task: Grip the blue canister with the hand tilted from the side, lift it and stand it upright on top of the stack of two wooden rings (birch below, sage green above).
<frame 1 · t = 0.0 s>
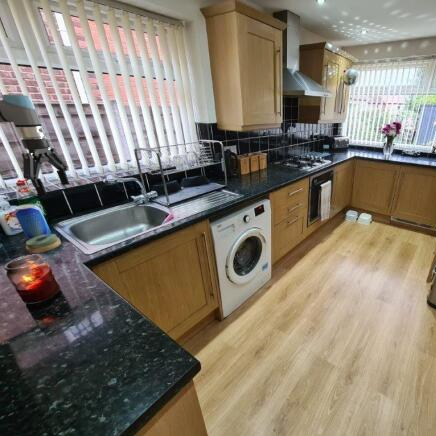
hand: (54, 189, 106), 25 cm above the countertop, tool pointing down, fingers open, 13 cm apart
blue canister: (40, 237, 117), on the countertop
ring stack: (45, 246, 109), on the countertop
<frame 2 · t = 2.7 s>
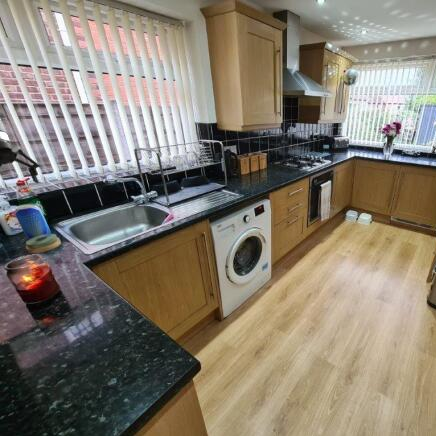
hand: (17, 186, 110), 24 cm above the countertop, tool tilted 35°, fingers open, 13 cm apart
nothing on the countertop moved.
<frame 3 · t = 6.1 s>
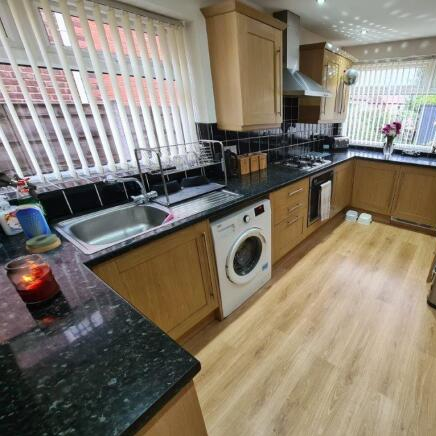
hand: (19, 206, 114), 15 cm above the countertop, tool tilted 45°, fingers open, 13 cm apart
nothing on the countertop moved.
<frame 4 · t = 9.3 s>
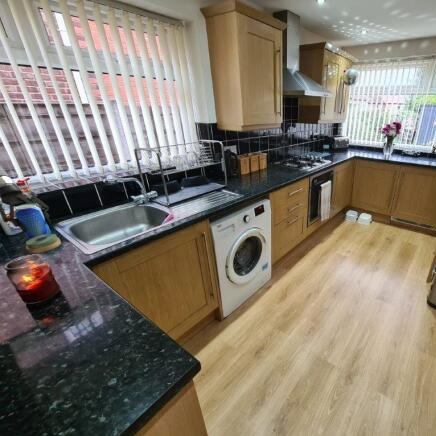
hand: (38, 226, 113), 6 cm above the countertop, tool tilted 45°, fingers closed on blue canister, 8 cm apart
blue canister: (40, 237, 117), on the countertop, touching gripper
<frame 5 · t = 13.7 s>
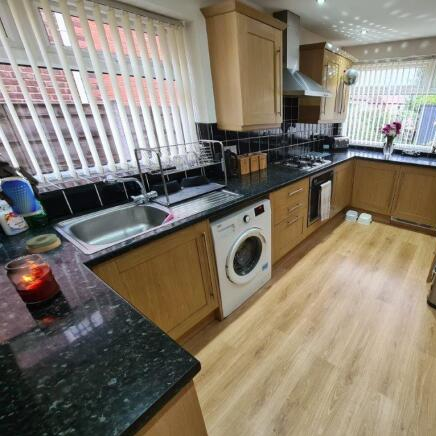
hand: (26, 201, 103), 21 cm above the countertop, tool tilted 45°, fingers closed on blue canister, 8 cm apart
blue canister: (29, 214, 107), point 14 cm above the countertop, touching gripper
when the fingers open (10 cm above the countertop, at t = 18.0 s): blue canister stays where it is, resting on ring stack.
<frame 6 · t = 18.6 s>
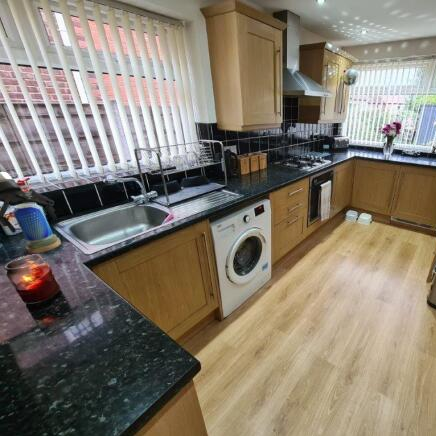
hand: (36, 224, 104), 12 cm above the countertop, tool tilted 45°, fingers open, 13 cm apart
blue canister: (41, 239, 108), point 4 cm above the countertop, touching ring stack
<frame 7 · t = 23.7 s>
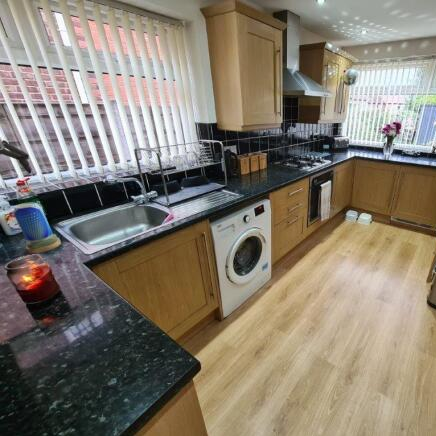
hand: (8, 175, 100), 32 cm above the countertop, tool tilted 45°, fingers open, 13 cm apart
nothing on the countertop moved.
at the end: blue canister 0.0 cm off-centre on the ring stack, point 3.9 cm above the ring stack's base; blue canister tilted 0°; the gripper is holding nothing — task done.
